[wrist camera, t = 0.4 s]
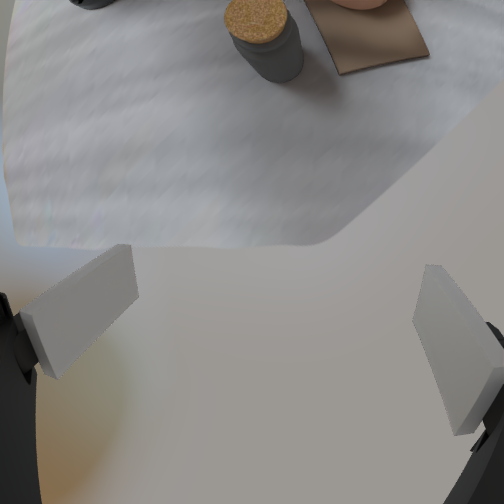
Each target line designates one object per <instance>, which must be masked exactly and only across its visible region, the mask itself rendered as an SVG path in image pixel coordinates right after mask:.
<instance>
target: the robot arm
mask: <svg viewBox="0 0 504 504" xmlns="http://www.w3.org/2000/svg"><path fill="white" fill-rule="evenodd" d="M69 1H70V2H71V3H73V4H74V5H76V6H79V7H82V8H85V9H96V8H100V7H103V6H105V5H108V4H110V3H112V2H113V1H115V0H69ZM138 297H139V294H138V288H137V282H136V276H135V270H134V263H133V256H132V250H131V245H125V244H117V245H116V246H114V247H112V248H111V249H109V250H108V251H106V252H104V253H103V254H102V255H100V256H98V257H97V258H95V259H93V260H92V261H90V262H89V263H87V264H86V265H84V266H83V267H81V268H80V269H78V270H77V271H75V272H74V273H72V274H71V275H69V276H68V277H66V278H65V279H63V280H62V281H60V282H59V283H58V284H56V285H54V286H53V287H51V288H50V289H49V290H47V291H46V292H44V293H43V294H41V295H40V296H39V297H38V298H36V299H34V300H33V301H32V302H30V303H29V304H27V305H26V306H25V307H23V308H22V309H20V310H19V313H18V314H16V315H15V316H13V314H12V311H11V308H10V305H9V302H8V299H7V296H6V295H5V293H1V292H0V504H42V502H41V495H40V487H39V478H38V467H37V453H36V423H35V413H36V411H35V410H36V382H37V372H36V370H35V368H34V366H35V365H36V364H37V363H38V362H39V363H40V365H41V368H42V369H43V372H44V374H46V375H48V376H50V377H52V378H55V379H57V380H58V379H59V378H60V377H61V376H62V375H63V374H64V373H65V372H66V371H67V370H68V368H69V367H70V366H71V365H72V364H73V363H74V362H75V361H76V360H77V359H78V358H79V357H80V356H81V355H82V354H83V353H84V352H85V351H86V350H87V348H89V347H90V345H92V343H93V342H94V341H95V340H96V339H97V338H98V337H99V336H100V335H101V334H102V333H103V332H104V331H105V330H106V329H107V328H108V327H109V326H110V325H111V324H112V323H113V322H114V321H115V320H116V319H117V318H118V317H119V316H120V315H121V314H122V313H123V312H124V311H125V310H126V309H127V308H128V307H129V306H130V305H131V304H132V303H133V302H134V301H135V300H136V299H137V298H138ZM413 323H414V326H415V328H416V330H417V333H418V335H419V337H420V340H421V343H422V345H423V348H424V350H425V353H426V355H427V357H428V360H429V363H430V366H431V368H432V371H433V374H434V376H435V379H436V382H437V385H438V388H439V390H440V393H441V396H442V399H443V402H444V405H445V409H446V411H447V415H448V418H449V421H450V424H451V428H452V431H453V435H454V436H457V435H464V434H470V433H474V432H475V430H476V429H477V427H478V426H479V424H480V423H481V421H482V420H483V423H484V426H485V428H486V430H485V431H484V432H483V434H482V435H481V436H480V438H479V439H478V440H477V442H476V443H475V444H474V446H473V447H472V449H471V450H470V451H472V452H473V453H472V455H471V457H470V459H469V461H468V462H467V465H466V466H465V468H464V470H463V472H462V473H461V476H460V477H459V479H458V481H457V482H456V484H455V486H454V487H453V489H452V490H451V492H450V494H449V495H448V497H447V498H446V500H445V502H444V503H443V504H504V337H503V335H502V334H501V332H500V331H499V330H498V329H497V328H496V327H494V326H493V325H492V324H491V323H489V322H485V321H484V320H483V318H482V317H481V316H480V314H479V313H478V312H477V310H476V309H475V308H474V306H473V305H472V304H471V302H470V301H469V300H468V298H467V297H466V296H465V294H464V293H463V292H462V291H461V289H460V288H459V287H458V286H457V284H456V283H455V282H454V280H453V279H452V278H451V277H450V276H449V274H448V273H447V272H446V271H445V269H444V268H443V267H442V266H438V265H426V267H425V272H424V276H423V281H422V285H421V290H420V294H419V298H418V302H417V306H416V310H415V314H414V317H413ZM473 450H474V451H473Z"/></svg>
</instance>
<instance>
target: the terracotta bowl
mask: <svg viewBox="0 0 504 504" xmlns="http://www.w3.org/2000/svg"><path fill="white" fill-rule="evenodd" d="M330 1H332V2H334V3H335V4H338V5H340V6H342V7H345V8H349V9H354V10H369V9H374V8H377V7H379V6H381V5H383V4H384V3H385V2H386V1H387V0H330Z"/></svg>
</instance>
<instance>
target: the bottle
mask: <svg viewBox="0 0 504 504" xmlns="http://www.w3.org/2000/svg"><path fill="white" fill-rule="evenodd" d="M224 20H225V25H226V27H227V29H228V30H229V33H230V35H231V37H232V39H233V42H234V45H235V47H236V48H237V50H238V51H239V52H240V54H241V55H242V56H243V57H244V58H245V59H246V60H247V61H248V62H249V63H250V65H251V66H252V67H253V68H254V69H255V70H256V71H257V72H258V73H259V74H260V75H261V76H262V77H263V78H265V79H267V80H269V81H272V82H286V81H289V80H291V79H293V78H294V77H296V76H297V75H298V74H299V72H300V71H301V69H302V67H303V61H304V60H303V52H302V46H301V41H300V35H299V31H298V27H297V24H296V22H295V20H294V19H293V18H292V16H291V15H290V13H289V11H288V10H287V9H286V6H285V4H284V3H283V1H282V0H232V1H231V2H230V4H229V5H228V7H227V9H226V11H225V16H224Z"/></svg>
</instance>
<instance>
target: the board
mask: <svg viewBox="0 0 504 504" xmlns="http://www.w3.org/2000/svg"><path fill="white" fill-rule="evenodd" d="M304 2H305V3H306V5H307V7H308V9H309V11H310V13H311V15H312V17H313V19H314V21H315V23H316V25H317V27H318V29H319V31H320V33H321V35H322V37H323V40H324V42H325V44H326V46H327V48H328V51H329V53H330V55H331V57H332V60H333V62H334V64H335V66H336V69H337V71H338V74H339V75H341V74H345V73H349V72H353V71H357V70H361V69H365V68H369V67H374V66H378V65H383V64H387V63H392V62H397V61H402V60H408V59H413V58H419V57H425V56H428V55H430V53H429V51H428V49H427V46H426V44H425V42H424V40H423V37H422V35H421V33H420V31H419V29H418V27H417V25H416V23H415V21H414V19H413V17H412V15H411V13H410V11H409V9H408V7H407V6H406V4H405V2H404V0H387V1H386V2H385V3H384V4H383V5H381V6H379V7H377V8H374V9H369V10H354V9H349V8H345V7H342V6H340V5H338V4H335V3H334V2H332V1H330V0H304Z"/></svg>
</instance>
